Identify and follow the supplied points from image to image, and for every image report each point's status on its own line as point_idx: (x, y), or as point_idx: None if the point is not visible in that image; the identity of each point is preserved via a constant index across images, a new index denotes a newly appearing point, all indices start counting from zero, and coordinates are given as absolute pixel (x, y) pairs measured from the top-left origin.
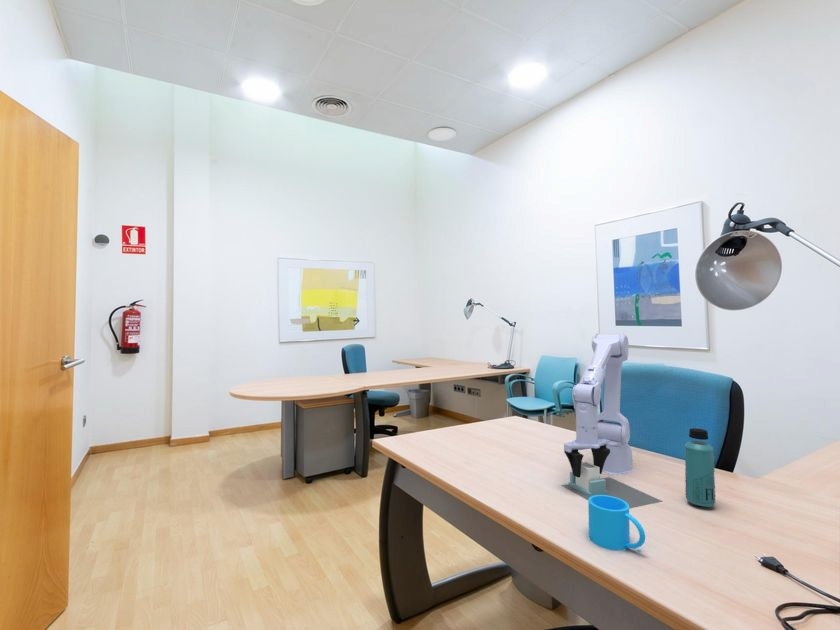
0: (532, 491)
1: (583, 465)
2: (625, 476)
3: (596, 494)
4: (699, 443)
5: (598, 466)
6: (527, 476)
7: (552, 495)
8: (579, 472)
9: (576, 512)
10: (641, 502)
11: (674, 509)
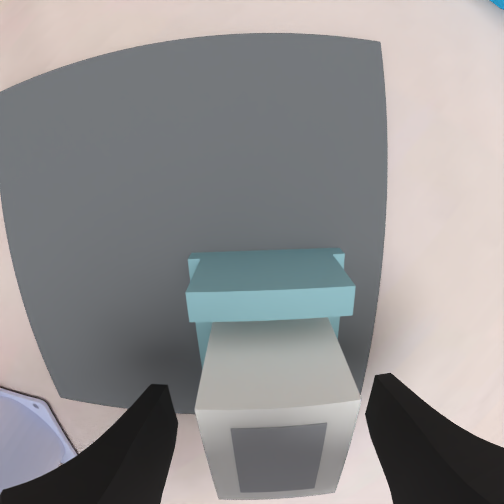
0: (480, 375)
1: (318, 464)
2: (2, 375)
3: (289, 251)
4: None
5: (156, 436)
6: (382, 475)
7: (459, 332)
8: (405, 394)
9: (496, 145)
10: (87, 89)
11: (14, 32)
